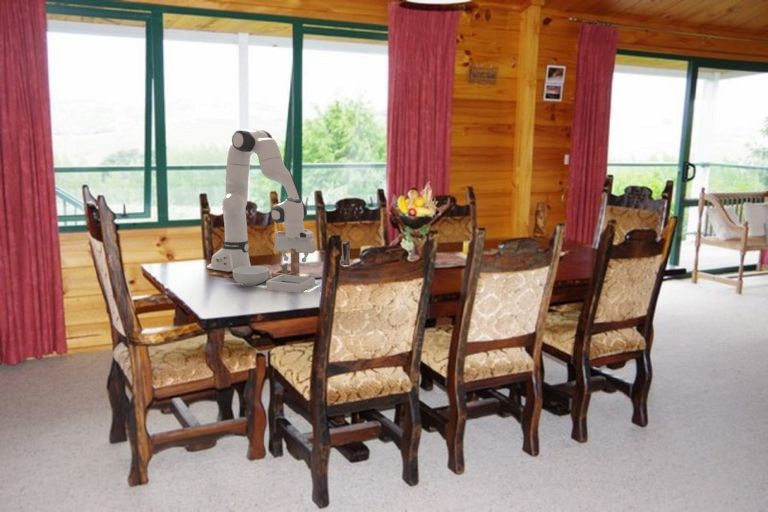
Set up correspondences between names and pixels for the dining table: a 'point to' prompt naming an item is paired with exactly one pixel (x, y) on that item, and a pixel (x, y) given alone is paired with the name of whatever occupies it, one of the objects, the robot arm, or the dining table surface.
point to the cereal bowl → (250, 275)
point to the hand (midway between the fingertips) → (295, 261)
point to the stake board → (284, 270)
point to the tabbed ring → (294, 265)
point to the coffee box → (345, 253)
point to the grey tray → (290, 287)
